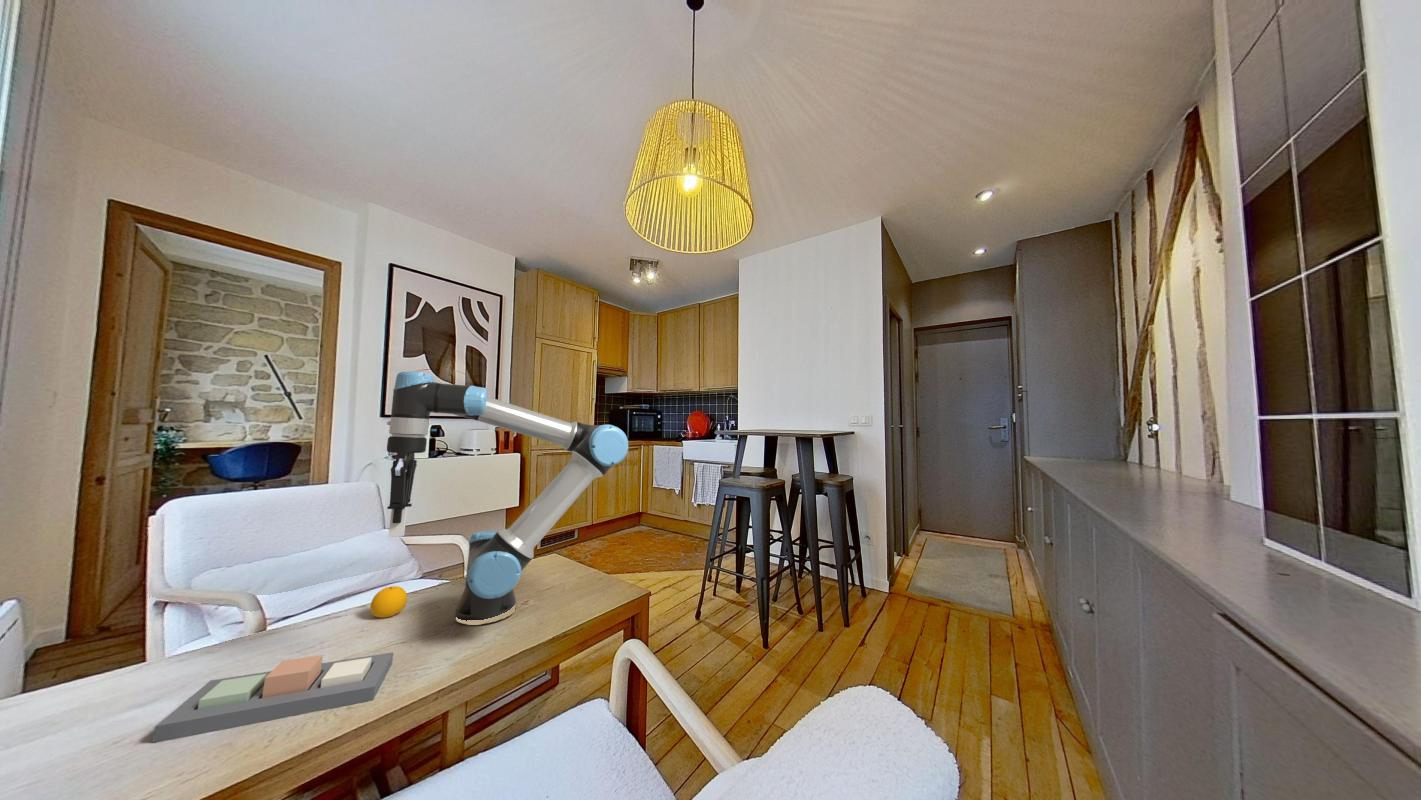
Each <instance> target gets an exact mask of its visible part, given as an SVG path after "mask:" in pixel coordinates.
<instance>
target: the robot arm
mask: <svg viewBox="0 0 1421 800" xmlns="http://www.w3.org/2000/svg"><path fill="white" fill-rule="evenodd" d="M392 393H393V394H392V402H391V404H392V405H391V412H390V420H389V421H387V422H386V425H387V426H389V430H388V433H389V434H390V435H391V436H389V437H388V438H387V443H386V444H387V445H386V451H387V453H391V454H392V453H393V454H394V453H396V457H395V460H393V462H392V466H391V468H390V476H391V478H390V493H389V497H390V498H389V505H388V506H387V508H386V509H387V510H391V512H390V520H389V521H390V522H389V528H388V536H387V537H388V538H401V537H404V536H405V533H406V532H405V531H406V523H407V516H408V515H407V514H408V508H409V507H410V508H411V507H412V506H413V505H412V504H413V503H411V501H412V499H411V496H412V490H413V485H414V479H415V474H416V468H417V466H418V464H417V462H418V461H417V459H415V454H421V453H425V452H426V450H427V441H428V439H427V437H426V436H427V435H428V434H429V427H430V426H429V425H430V414H431V413H433V414H447V415H448V414H449V415H455V416H457V417H461V418H462V417H463V418H465V419H469V420H473V421H477V422H481V423H483V424H487V425H491V426H493V427H498V428H500V429H504V430H508V431H511V432H514V433H517V434H521V435H525V436H528V437H532V438H534V439H539V440H541V441H545V442H548V443H552V444H555V445H558V446H562V448H563V450H564V451H568V452H571V460H570V461H568V463H567V464H566V465H565V466H564V467H563V468H562V470H561V471H560V472H559V473H558V474H557V475H556V476H555V478H554V479H552V481H551V482H550V483H549V484H548V485H547V486H546V487H545V488H544V489H543V490H542V492H541V493H539V495H537V497H536V498H535V499H534V500H533V501H532V502H531V503H530V504H529V506H528V507H527V508H526V509H525V510H524V511H523V512H522V513H521V514H520V515H519V516H518V517H517V519H516V520H515V521H514V522H513V523H512V524H511V525H509V527H508V528H505V529H493V530H481V531H477V532H474V533H472V534H471V536H470V539H469V542H468V545H469V548H468V557H467V566H466V567H467V568H466V578H465V587H464V591H463V592H462V595H461V596H460V600H459V601H458V604H457V606H456V609H455V614H454V617H455V616H456V617H457V618H458V619H461V620H466V621H467V620H484V619H488V618H492V617H495V616H498V615H500V614H502V613H505V612H507V611H508V610H510V609H511V608H512V607H513V606H514V605H515V603H516V604H517V600H516V596H515V592H514V589H515V587H516V586H517V584H518V583H519V581H520V578H521V576H522V572H523V570H524V569H525V568H526V567H527V566H528V565H529V563H530V562H531V561H532V560H533V559H534V557H535V555H534V549H535V548H536V546H537V545H538V544H539V543H541V541H542V539H543V538H544V537H545V536H546V535H547V534H548V533H549V532H550V530H551V529H552V528H553V527H554V526H555V524H557V522H559V521H560V519H561V518H562V517H563V516H564V514H565V513H566V512H568V510H569V508H570V507H571V506H572V505H573V504H574V503H575V501H577V499H578V498H579V497H580V496H581V495H582V493H583V492H584V491H585V490H586V489H587V487H588V486H589V485H590V484H591V483H592V482H593V481H594V480H595V479H597V478H603V477H604V476H605V475H606V473H608V471H609V470H610V469H611V468H612V467H614V466H617V465H618V464H619V463H622V461H623V460H624V459H625V458H626V457H627V455H628V451H629V440H628V437H627V435H626V433H625V432H624V431H623V430H622V429H621V428H619V427H618V426H615V425H613V424H601V425H600V424H587V423H581V422H578V421H573V422H569V421H565V420H562V419H559V418H556V417H553V416H549V415H547V414H543V413H540V412H538V411H534V410H531V409H527V408H525V407H521V406H519V405H515V404H512V403H509V402H506V401H502V400H499V399H497V398H493V397H489V396H488V390H487V389H486V388H485V387H481V386H476V385H463V384H462V385H461V384H449V383H441V382H435V377H434V375H432V374H429V373H426V372H417V371H400V372H399V373H397V375H396V377H395V383H394V387H393V391H392Z"/></svg>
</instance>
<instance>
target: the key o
mask: <svg viewBox="0 0 1421 800" xmlns="http://www.w3.org/2000/svg"><path fill="white" fill-rule="evenodd" d="M266 675H267V674H261V675H255V676H248V677H242V678H236V679H229V680H223V681H221V682H220V683H219V684H218V685H216V686H215V687H214V688H213V689H212V690H211V691H209V692H208V693H207V694H206V695H205V696H204V697H202V698H201V699H200V700H199V705H198V709H203V708H209V707H214V706H220V705H226V704H232V703H237V702H243V701H249V700H250V699H251V698H252V697H253V696H254V695H255V694H256V693H257V692H258V691H259V690H260V689H261V688H262V687H263V686H264V682H265V678H266Z"/></svg>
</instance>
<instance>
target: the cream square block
mask: <svg viewBox="0 0 1421 800" xmlns="http://www.w3.org/2000/svg"><path fill="white" fill-rule="evenodd" d="M371 659H372V657H371V658H364V659H358V660H351V661H345V662H338V663H334V664H333V666H332V667H331V668H330V670H329V671H328V672H327V673H326V675H325V676H324V677H323V679H322V681H321V688H323V687H329V686H335V685H340V684H346V683H352V682H358V681H363V680H364V679H365V677H366V675H367V674H368V672H369V670H370V668H371Z"/></svg>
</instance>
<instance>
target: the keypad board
mask: <svg viewBox="0 0 1421 800" xmlns="http://www.w3.org/2000/svg"><path fill="white" fill-rule="evenodd" d="M371 657H372V659H371V668H370V670H369V672H368V674H367V675H366V677H365V679H364V680H363V681H358V682H352V683H346V684H340V685H335V686H329V687H323V688H321V681H322V679H323V677H324V676H325V675H326V673H327V672H328V671H329V670H330V668H331V667H332V666H333V664H334V663H338V662H345V661H351V660H358V659H364V658H371ZM393 659H394V652H385V653H380V654H374V655H368V656H360V657H359V656H358V657H355V658H354V657H353V658H348V659H340V660H336V661H328V662H322V665H321V673H320V674H319V676H318V677H317V678H316V679H315V681H314V682H313V683H312V684H311V686H310V687H309V688H308V689H307V690H306V691H300V692H295V693H289V694H283V695H277V696H272V697H266V698H262V695H263V689H264V686H263V687H262V688H261V689H260V690H259V691H258V692H257V693H256V694H255V695H254V696H253V697H252V698H251V699H250V700H249V701H243V702H237V703H232V704H226V705H220V706H214V707H209V708H203V709H198V705H199V700H200V699H201V698H202V697H204V696H205V695H206V694H207V693H208V692H209V691H211V690H212V689H213V688H214V687H215V686H216V685H218V684H219V683H220V682H221V681H223V680H229V679H236V678H242V677H248V676H255V675H261V674H267V675H266V677H267V676H268V675H269V674H270V673H271V672H272V671H273V670H271V671H264V672H263V671H262V672H257V673H250V674H244V675H237V676H230V677H224V678H219V679H211V680H209V681H208V682H207V683H205V684H204V685H203V686H202V687H201V688H200V689H198V690H197V691H196V692H195V693H194V694H192V695H191V696H190V697H188V699H187V700H185V701H183V703H182V704H180V705H179V706H178V707H177V708H176V709H174V710H173V711H172V712H171V713H169V715H167V716H166V717H164V718H163V719H162V720H161V721H160V722H159V723H158V724H156V725H155V727H154V731H153V738H152V744H155V743H161V742H164V741H169V740H170V741H171V740H174V739H180V738H185V737H189V736H196V735H200V734H206V733H211V732H217V731H221V730H227V729H232V728H237V727H242V726H249V725H252V724H257V723H263V722H268V721H273V720H277V719H283V718H288V717H293V716H299V715H303V714H304V715H305V714H309V713H315V712H320V711H324V710H330V709H335V708H340V707H346V706H350V705H356V704H360V703H366V702H367V703H368V702H371V701H372V702H373V701H374V700H375V697H376V695H378V691H379V689H380V688H381V686H382V684H383V683H384V680H385V678H386V677H387V674H388V673H389V671H390V668H391V667H392V665H393Z"/></svg>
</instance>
